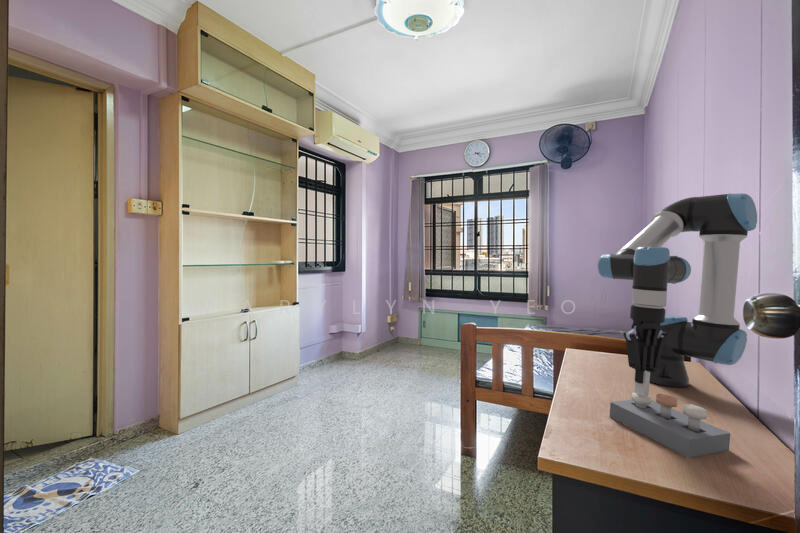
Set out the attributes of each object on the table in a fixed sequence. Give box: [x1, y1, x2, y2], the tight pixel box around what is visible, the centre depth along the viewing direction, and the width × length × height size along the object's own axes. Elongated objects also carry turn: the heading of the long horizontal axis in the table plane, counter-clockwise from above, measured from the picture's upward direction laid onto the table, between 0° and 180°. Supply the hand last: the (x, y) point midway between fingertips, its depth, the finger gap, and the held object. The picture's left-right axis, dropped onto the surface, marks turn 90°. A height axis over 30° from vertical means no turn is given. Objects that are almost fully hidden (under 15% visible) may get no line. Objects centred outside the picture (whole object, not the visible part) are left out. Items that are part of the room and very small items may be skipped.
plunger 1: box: [631, 392, 652, 409], centre depth 96 cm, size 4×4×5 cm
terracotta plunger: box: [655, 393, 678, 420], centre depth 90 cm, size 4×4×5 cm
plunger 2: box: [682, 403, 708, 433], centre depth 84 cm, size 4×4×5 cm
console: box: [609, 399, 731, 458], centre depth 90 cm, size 13×20×4 cm, turn 18°
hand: (641, 394), depth 96 cm, fingers closed
